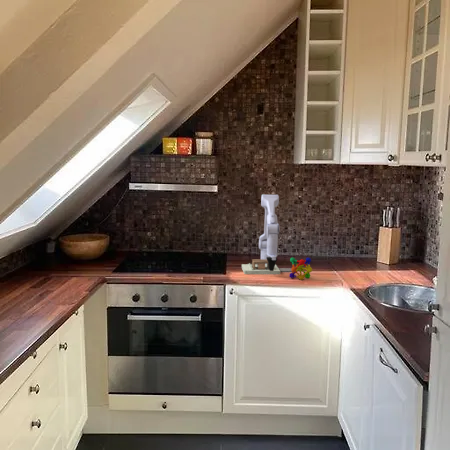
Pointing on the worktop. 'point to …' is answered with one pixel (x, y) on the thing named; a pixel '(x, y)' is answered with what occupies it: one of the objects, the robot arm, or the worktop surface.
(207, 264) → the worktop surface
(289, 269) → the slate pad
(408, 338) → the worktop surface
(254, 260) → the walnut cover
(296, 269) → the molecular model
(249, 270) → the puzzle board
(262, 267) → the terracotta block
